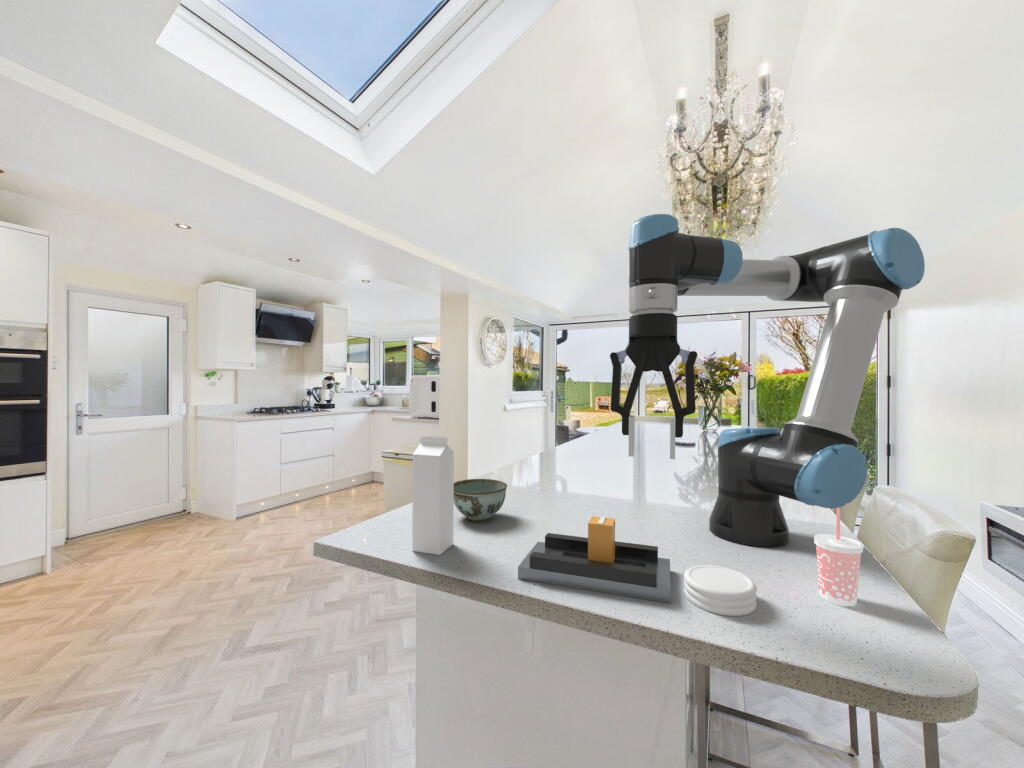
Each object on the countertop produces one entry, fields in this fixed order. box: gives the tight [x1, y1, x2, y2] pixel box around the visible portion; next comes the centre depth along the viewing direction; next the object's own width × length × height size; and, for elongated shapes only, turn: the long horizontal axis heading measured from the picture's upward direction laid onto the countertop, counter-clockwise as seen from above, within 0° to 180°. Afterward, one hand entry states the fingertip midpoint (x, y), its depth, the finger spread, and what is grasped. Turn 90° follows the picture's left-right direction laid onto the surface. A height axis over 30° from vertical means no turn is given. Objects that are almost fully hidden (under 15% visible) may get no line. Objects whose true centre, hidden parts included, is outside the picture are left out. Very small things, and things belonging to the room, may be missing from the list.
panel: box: [517, 532, 672, 604], centre depth 75 cm, size 24×12×4 cm, turn 71°
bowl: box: [454, 478, 508, 523], centre depth 105 cm, size 14×13×8 cm
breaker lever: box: [587, 515, 616, 563], centre depth 75 cm, size 4×4×7 cm
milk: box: [411, 435, 455, 556], centre depth 86 cm, size 6×6×22 cm
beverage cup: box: [813, 507, 865, 605], centre depth 67 cm, size 6×6×14 cm
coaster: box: [683, 564, 758, 617], centre depth 67 cm, size 10×10×4 cm
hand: (651, 456), depth 72 cm, fingers open, 6 cm apart
